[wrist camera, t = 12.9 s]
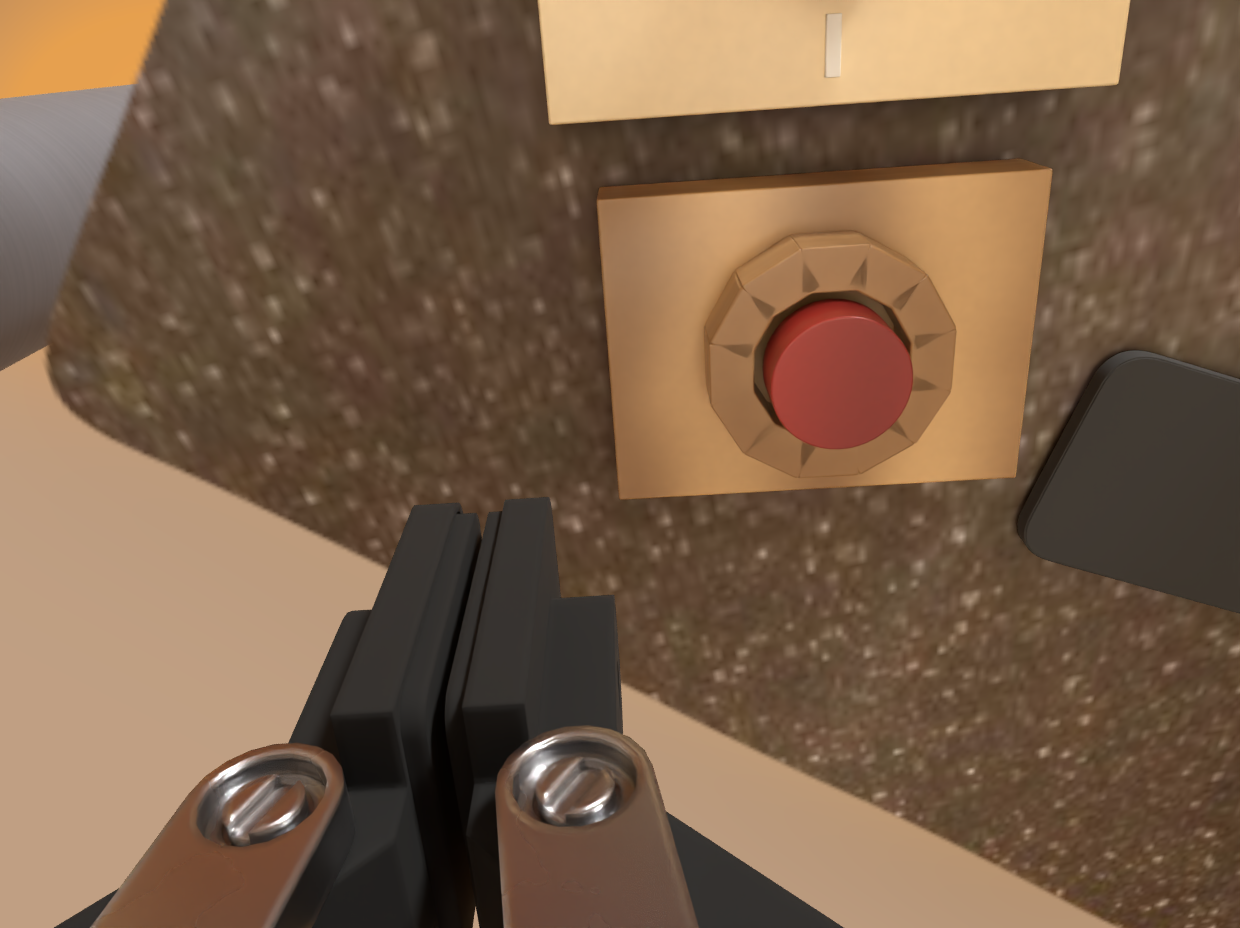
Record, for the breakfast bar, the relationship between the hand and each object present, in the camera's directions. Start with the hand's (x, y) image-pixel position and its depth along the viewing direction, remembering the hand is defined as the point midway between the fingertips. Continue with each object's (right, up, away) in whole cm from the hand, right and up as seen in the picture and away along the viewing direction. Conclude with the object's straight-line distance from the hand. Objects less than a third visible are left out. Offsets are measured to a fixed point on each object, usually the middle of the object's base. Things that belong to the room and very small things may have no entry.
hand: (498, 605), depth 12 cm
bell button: (+7, +5, +14) cm, 16 cm away
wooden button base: (+7, +6, +17) cm, 19 cm away
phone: (+23, 0, +19) cm, 30 cm away
